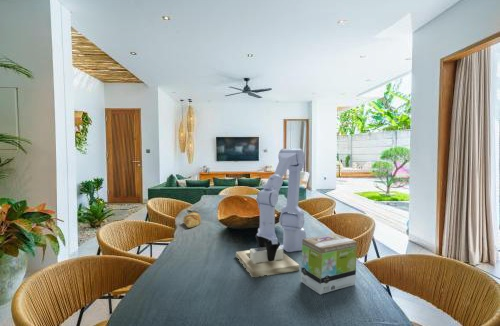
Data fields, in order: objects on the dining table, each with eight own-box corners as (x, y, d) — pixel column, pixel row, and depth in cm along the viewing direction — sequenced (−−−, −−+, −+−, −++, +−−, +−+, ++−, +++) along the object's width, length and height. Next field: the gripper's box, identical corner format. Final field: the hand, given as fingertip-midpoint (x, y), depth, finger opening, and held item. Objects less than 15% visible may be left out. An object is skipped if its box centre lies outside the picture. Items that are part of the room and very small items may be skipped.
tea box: (321, 296, 84) (321, 247, 84) (300, 282, 93) (300, 238, 93) (356, 285, 91) (357, 240, 91) (334, 273, 100) (335, 232, 99)
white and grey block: (278, 259, 111) (278, 244, 111) (283, 263, 107) (283, 248, 107) (250, 264, 107) (250, 248, 107) (253, 268, 103) (253, 251, 103)
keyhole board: (276, 251, 121) (276, 246, 121) (299, 270, 102) (299, 264, 102) (235, 256, 115) (235, 251, 115) (252, 277, 96) (252, 272, 96)
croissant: (194, 235, 155) (200, 222, 155) (177, 227, 154) (184, 214, 154) (199, 224, 176) (205, 213, 176) (184, 216, 175) (190, 205, 175)
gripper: (250, 218, 112) (250, 251, 113) (264, 227, 98) (264, 265, 99) (267, 216, 114) (266, 249, 115) (283, 225, 101) (282, 263, 101)
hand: (267, 256), depth 107 cm, fingers open, 7 cm apart
